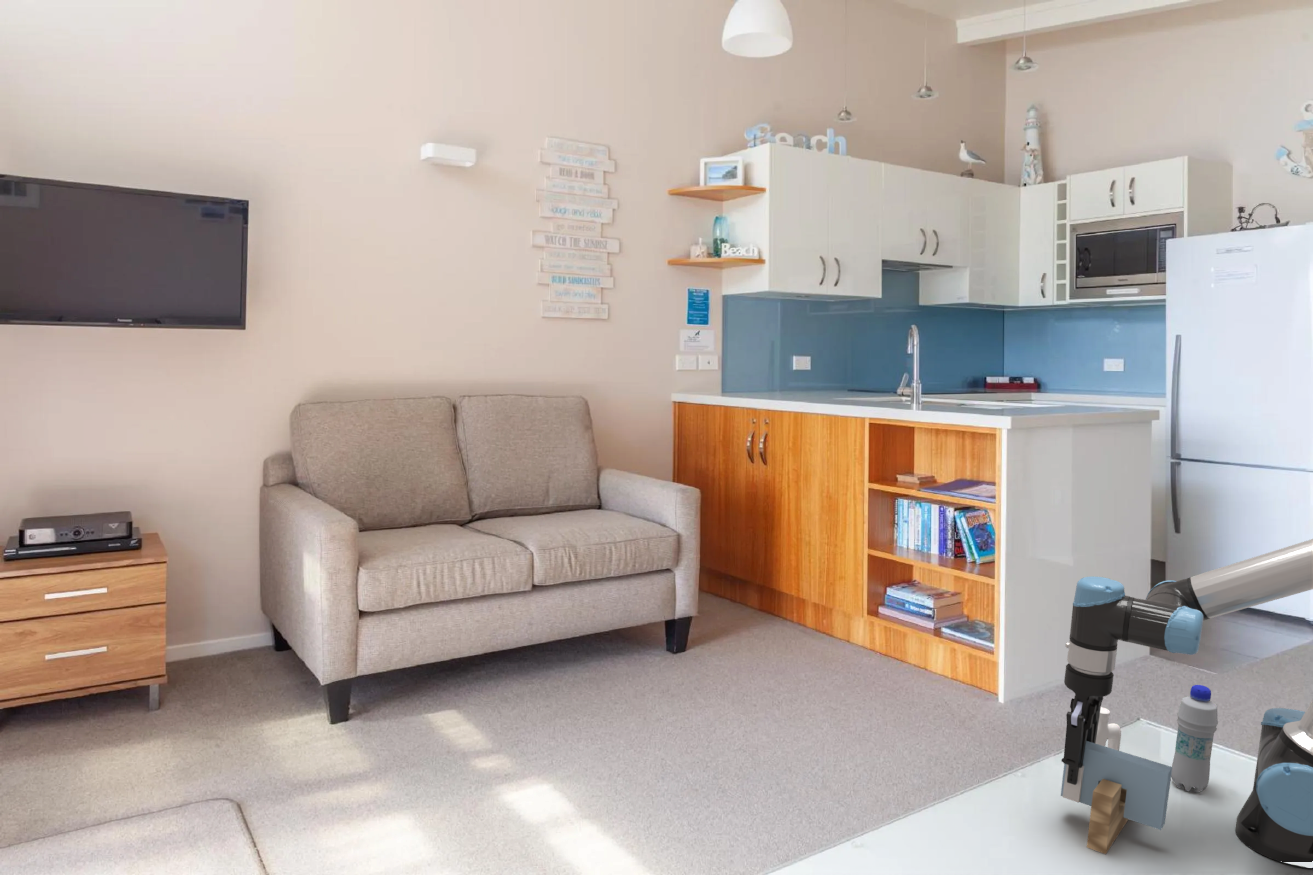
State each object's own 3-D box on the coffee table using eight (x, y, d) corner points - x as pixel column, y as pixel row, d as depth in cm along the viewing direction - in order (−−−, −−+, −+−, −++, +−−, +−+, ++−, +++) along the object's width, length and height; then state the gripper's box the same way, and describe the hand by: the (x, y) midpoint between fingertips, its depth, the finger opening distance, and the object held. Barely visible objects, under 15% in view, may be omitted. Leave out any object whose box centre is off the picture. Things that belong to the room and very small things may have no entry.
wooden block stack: (1130, 816, 173) (1136, 763, 171) (1105, 854, 161) (1112, 797, 159) (1112, 810, 175) (1118, 757, 173) (1086, 847, 162) (1093, 790, 161)
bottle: (1207, 798, 180) (1221, 696, 177) (1166, 787, 184) (1179, 686, 181) (1209, 784, 186) (1223, 684, 183) (1170, 773, 190) (1183, 675, 187)
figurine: (1127, 790, 182) (1136, 714, 180) (1085, 796, 180) (1094, 718, 177) (1099, 771, 189) (1107, 698, 187) (1058, 777, 186) (1067, 702, 184)
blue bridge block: (1164, 822, 163) (1172, 766, 162) (1160, 830, 161) (1168, 773, 159) (1065, 789, 173) (1072, 736, 172) (1060, 795, 171) (1066, 741, 169)
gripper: (1080, 649, 176) (1066, 771, 179) (1052, 673, 163) (1037, 804, 167) (1125, 660, 171) (1109, 785, 175) (1100, 686, 159) (1083, 820, 162)
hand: (1074, 794), depth 171 cm, fingers closed on blue bridge block, 3 cm apart
